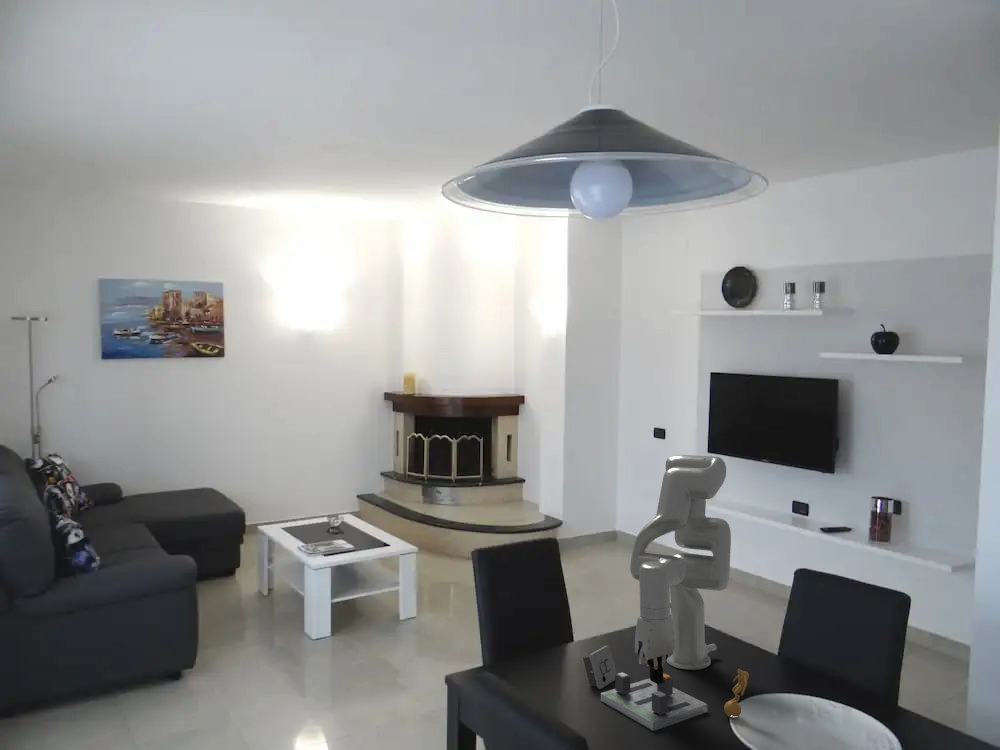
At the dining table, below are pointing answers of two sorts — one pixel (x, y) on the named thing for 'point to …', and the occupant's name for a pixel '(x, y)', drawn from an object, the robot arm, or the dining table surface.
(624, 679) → the breaker
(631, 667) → the dining table surface
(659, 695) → the block
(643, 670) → the dining table surface
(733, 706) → the figurine
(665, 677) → the breaker mid
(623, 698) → the panel
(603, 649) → the electrical switch
